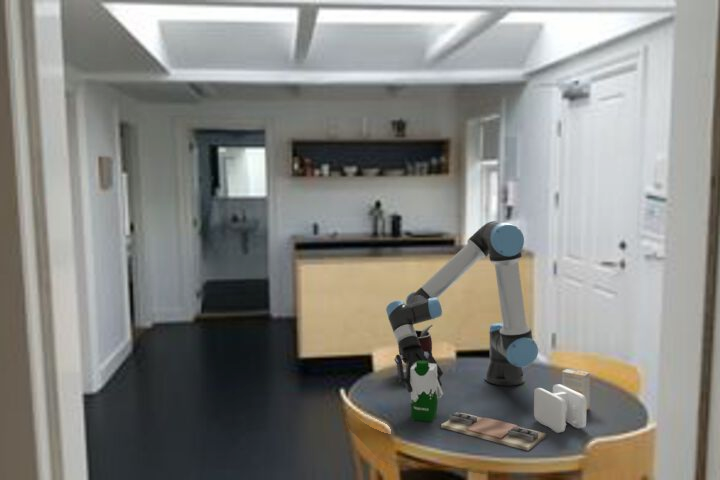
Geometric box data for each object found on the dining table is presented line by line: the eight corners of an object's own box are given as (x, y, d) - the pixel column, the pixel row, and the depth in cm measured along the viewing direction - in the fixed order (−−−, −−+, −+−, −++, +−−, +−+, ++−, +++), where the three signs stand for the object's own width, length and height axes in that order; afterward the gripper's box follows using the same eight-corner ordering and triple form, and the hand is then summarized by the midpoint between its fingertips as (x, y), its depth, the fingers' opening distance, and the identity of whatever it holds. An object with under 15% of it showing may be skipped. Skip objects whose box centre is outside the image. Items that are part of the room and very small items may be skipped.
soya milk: (408, 420, 213) (407, 362, 211) (415, 411, 221) (414, 355, 219) (434, 423, 210) (433, 364, 208) (439, 413, 218) (439, 357, 216)
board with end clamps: (441, 427, 206) (441, 418, 206) (461, 415, 216) (461, 406, 216) (528, 450, 187) (528, 441, 187) (545, 436, 198) (545, 427, 197)
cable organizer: (531, 419, 212) (531, 385, 210) (557, 414, 215) (558, 381, 214) (560, 436, 198) (561, 400, 196) (588, 430, 201) (588, 395, 200)
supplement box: (590, 409, 220) (590, 372, 219) (583, 412, 216) (584, 375, 215) (567, 403, 226) (568, 367, 224) (561, 407, 222) (561, 370, 221)
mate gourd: (410, 381, 253) (409, 332, 251) (392, 372, 266) (391, 325, 264) (442, 375, 261) (441, 327, 259) (423, 366, 273) (423, 321, 271)
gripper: (430, 342, 231) (452, 398, 218) (377, 349, 224) (396, 408, 211) (437, 331, 226) (460, 388, 213) (382, 338, 218) (403, 397, 205)
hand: (428, 398), depth 212 cm, fingers closed on soya milk, 9 cm apart
